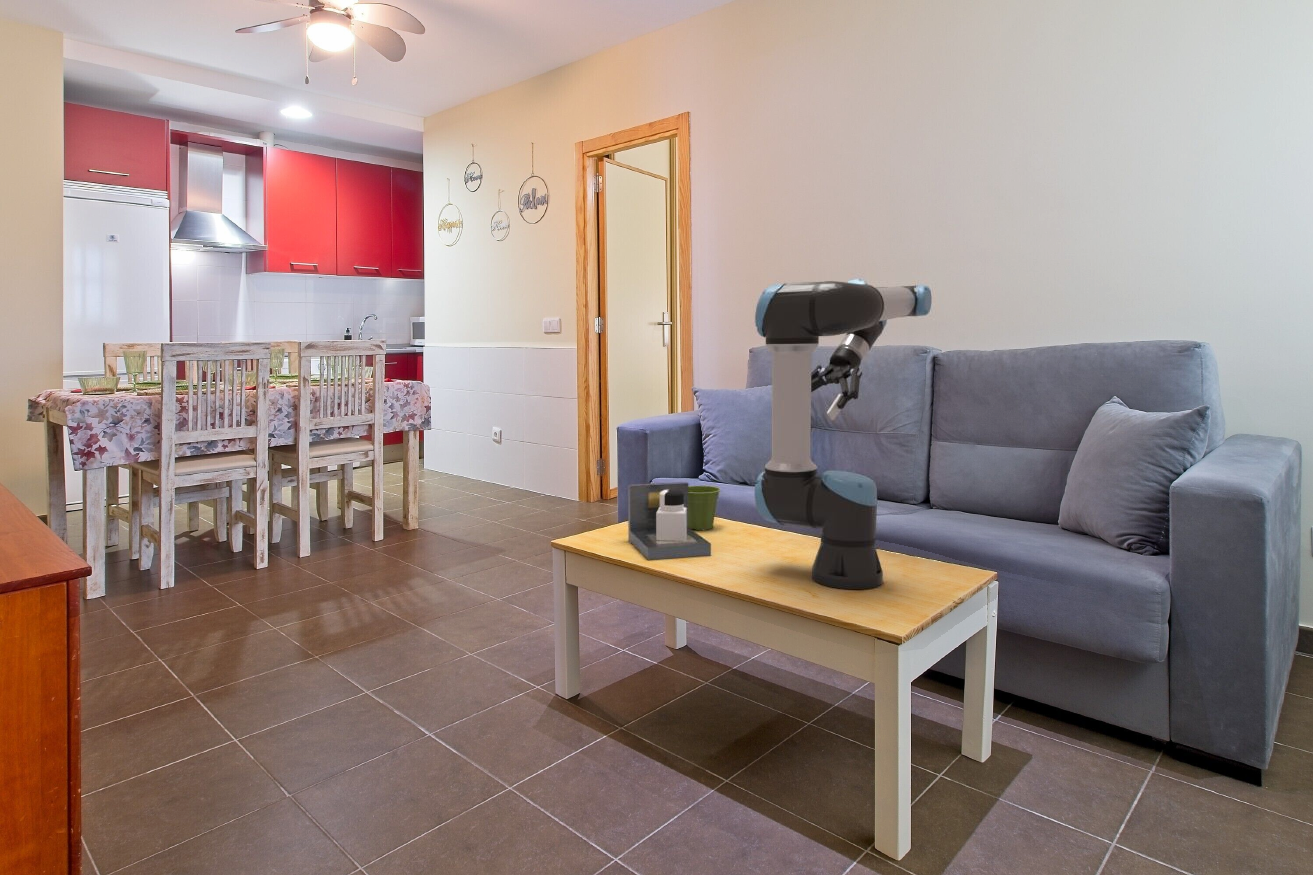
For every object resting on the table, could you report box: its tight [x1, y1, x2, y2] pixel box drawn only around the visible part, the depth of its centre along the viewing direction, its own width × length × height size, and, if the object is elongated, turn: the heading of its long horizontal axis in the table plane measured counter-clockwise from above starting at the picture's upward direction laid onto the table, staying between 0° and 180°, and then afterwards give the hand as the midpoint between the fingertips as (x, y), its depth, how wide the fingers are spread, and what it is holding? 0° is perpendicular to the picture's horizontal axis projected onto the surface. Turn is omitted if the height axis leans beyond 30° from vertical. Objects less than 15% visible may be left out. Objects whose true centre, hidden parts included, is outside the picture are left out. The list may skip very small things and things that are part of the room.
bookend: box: [627, 481, 712, 560], centre depth 195 cm, size 20×16×15 cm
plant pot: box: [688, 485, 722, 531], centre depth 218 cm, size 12×12×11 cm
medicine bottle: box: [656, 489, 687, 541], centre depth 192 cm, size 7×7×12 cm
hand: (809, 415), depth 196 cm, fingers open, 13 cm apart
